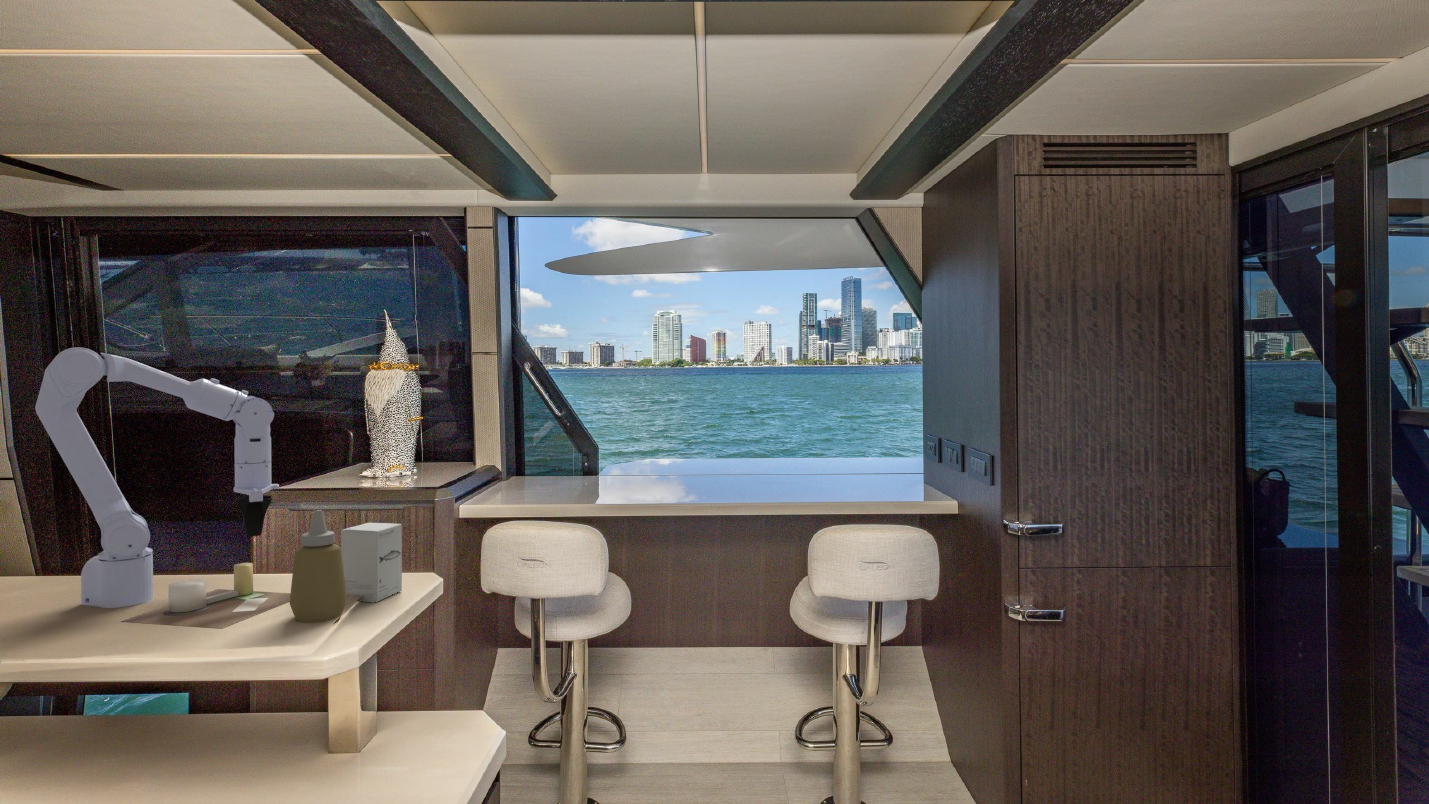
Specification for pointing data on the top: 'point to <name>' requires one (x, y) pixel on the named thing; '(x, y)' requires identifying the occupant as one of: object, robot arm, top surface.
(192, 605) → the peg lever
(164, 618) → the brown flat square board
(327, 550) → the squeeze bottle
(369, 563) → the supplement box
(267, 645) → the top surface
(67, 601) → the top surface
